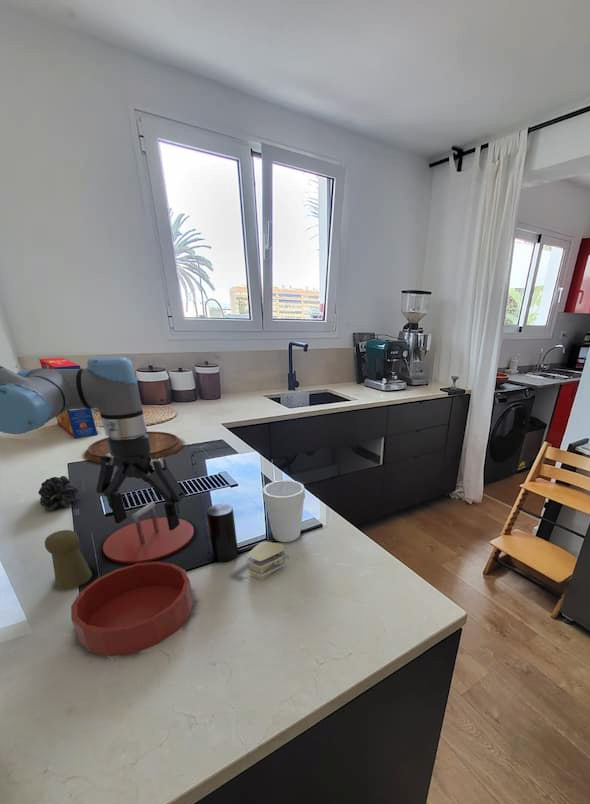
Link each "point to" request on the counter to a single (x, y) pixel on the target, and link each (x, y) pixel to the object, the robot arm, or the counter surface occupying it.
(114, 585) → the pot
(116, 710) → the counter surface
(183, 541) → the lid
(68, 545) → the cork
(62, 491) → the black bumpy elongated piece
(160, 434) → the cutting board
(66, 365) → the red and blue box
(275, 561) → the beige layered block
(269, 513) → the foam cup
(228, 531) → the black item
